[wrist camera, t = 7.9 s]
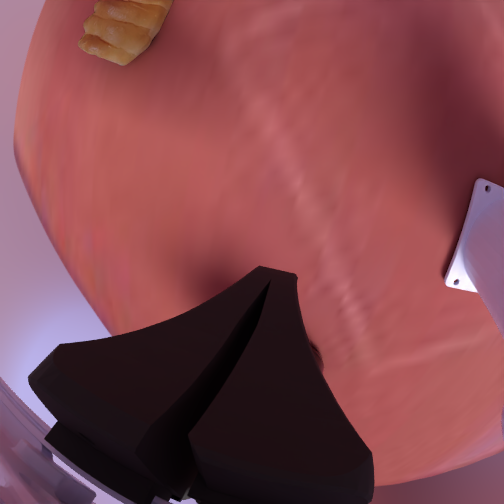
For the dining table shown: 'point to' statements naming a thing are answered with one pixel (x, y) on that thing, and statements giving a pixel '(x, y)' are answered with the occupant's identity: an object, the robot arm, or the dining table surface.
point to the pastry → (123, 28)
